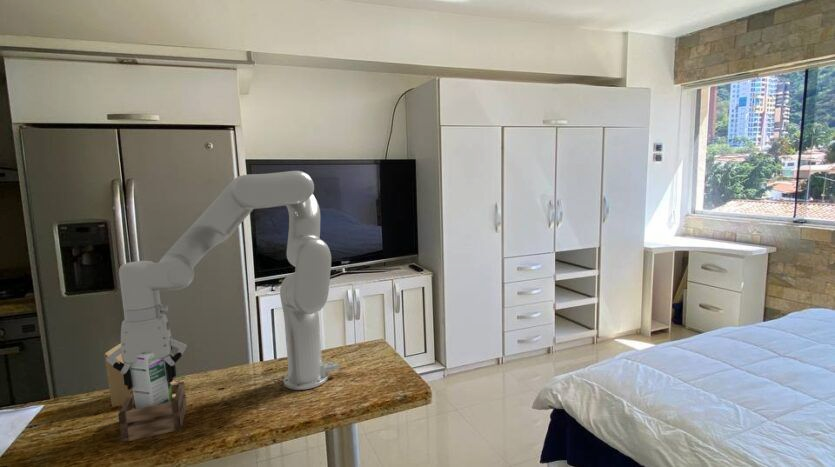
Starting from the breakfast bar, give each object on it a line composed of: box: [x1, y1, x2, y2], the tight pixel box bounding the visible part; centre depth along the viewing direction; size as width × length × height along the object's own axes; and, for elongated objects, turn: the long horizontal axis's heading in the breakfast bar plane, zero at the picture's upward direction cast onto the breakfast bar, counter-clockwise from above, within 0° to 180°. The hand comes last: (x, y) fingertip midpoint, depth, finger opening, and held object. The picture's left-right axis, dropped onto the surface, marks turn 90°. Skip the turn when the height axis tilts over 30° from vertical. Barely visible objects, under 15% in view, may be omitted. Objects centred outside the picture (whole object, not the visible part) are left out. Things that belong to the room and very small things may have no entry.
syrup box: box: [130, 353, 173, 409], centre depth 107 cm, size 6×6×14 cm
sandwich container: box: [104, 342, 178, 407], centre depth 122 cm, size 9×15×15 cm, turn 97°
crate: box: [118, 381, 188, 443], centre depth 108 cm, size 12×12×7 cm
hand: (151, 383), depth 107 cm, fingers closed on syrup box, 8 cm apart
